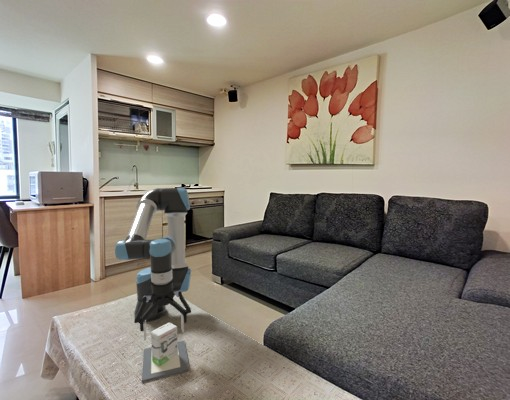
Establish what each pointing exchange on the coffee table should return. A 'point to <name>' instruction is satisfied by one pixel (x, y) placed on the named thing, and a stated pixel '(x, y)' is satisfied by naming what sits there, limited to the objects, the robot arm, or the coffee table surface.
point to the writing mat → (166, 369)
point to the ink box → (164, 343)
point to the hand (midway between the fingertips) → (164, 334)
